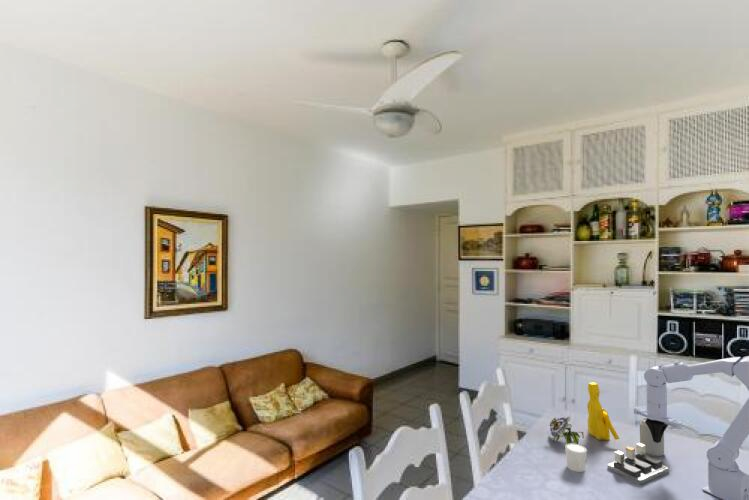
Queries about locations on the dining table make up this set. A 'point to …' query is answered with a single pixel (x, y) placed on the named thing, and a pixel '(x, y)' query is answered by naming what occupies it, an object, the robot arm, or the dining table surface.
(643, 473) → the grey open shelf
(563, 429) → the passion flower
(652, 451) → the can
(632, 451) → the handle
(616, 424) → the dining table surface
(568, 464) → the white cylinder
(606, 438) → the figure statuette
